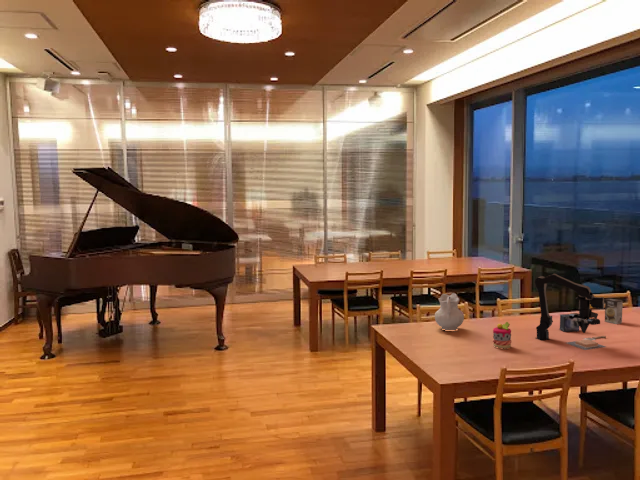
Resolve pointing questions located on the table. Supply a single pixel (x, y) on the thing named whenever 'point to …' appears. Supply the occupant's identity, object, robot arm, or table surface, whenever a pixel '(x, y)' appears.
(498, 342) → the cake
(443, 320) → the ceramic pitcher
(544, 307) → the robot arm
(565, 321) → the small box
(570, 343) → the mat
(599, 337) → the turner
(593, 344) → the tile
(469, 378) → the table surface
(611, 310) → the coffee box
